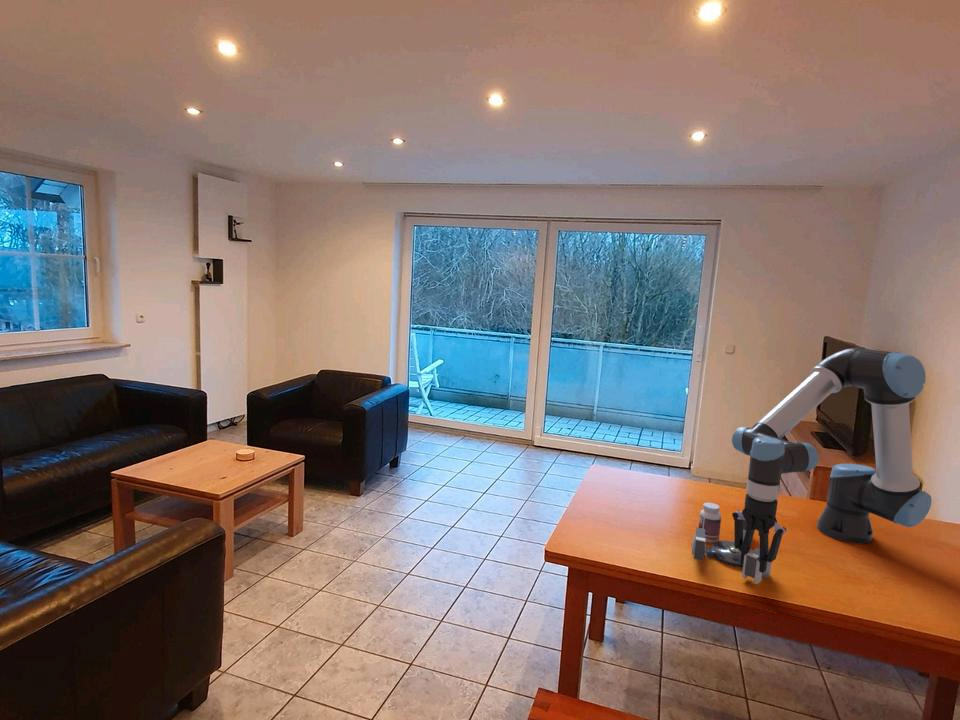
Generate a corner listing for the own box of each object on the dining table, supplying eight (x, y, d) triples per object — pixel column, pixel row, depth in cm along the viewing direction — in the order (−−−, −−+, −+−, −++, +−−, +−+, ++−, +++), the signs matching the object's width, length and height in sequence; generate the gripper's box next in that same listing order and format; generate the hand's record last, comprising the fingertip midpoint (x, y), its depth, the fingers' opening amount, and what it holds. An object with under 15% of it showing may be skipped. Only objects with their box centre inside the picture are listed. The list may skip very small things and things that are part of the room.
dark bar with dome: (691, 549, 162) (694, 523, 160) (704, 552, 160) (707, 526, 159) (690, 566, 152) (693, 538, 150) (704, 569, 150) (707, 541, 149)
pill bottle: (722, 540, 168) (726, 507, 166) (711, 545, 165) (714, 511, 163) (705, 532, 173) (708, 500, 172) (693, 536, 170) (696, 503, 168)
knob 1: (745, 548, 164) (748, 522, 162) (732, 544, 166) (735, 519, 164) (752, 535, 172) (755, 511, 171) (740, 532, 174) (743, 508, 173)
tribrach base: (744, 546, 165) (745, 538, 164) (764, 572, 150) (765, 563, 150) (698, 542, 166) (699, 534, 166) (713, 567, 152) (714, 558, 151)
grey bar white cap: (758, 569, 152) (762, 541, 150) (772, 575, 149) (775, 547, 148) (741, 581, 145) (744, 553, 143) (754, 588, 142) (758, 558, 141)
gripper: (799, 503, 137) (787, 588, 141) (739, 483, 149) (730, 562, 153) (786, 510, 133) (775, 597, 136) (725, 489, 145) (716, 570, 148)
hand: (751, 578), depth 144 cm, fingers closed on grey bar white cap, 2 cm apart
